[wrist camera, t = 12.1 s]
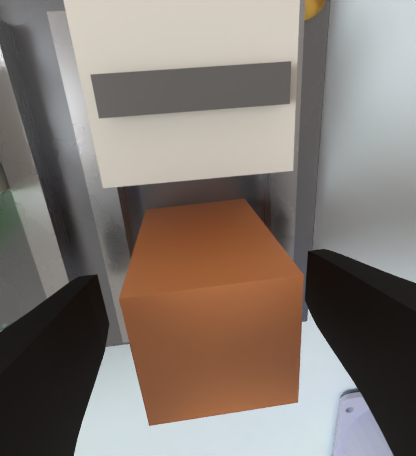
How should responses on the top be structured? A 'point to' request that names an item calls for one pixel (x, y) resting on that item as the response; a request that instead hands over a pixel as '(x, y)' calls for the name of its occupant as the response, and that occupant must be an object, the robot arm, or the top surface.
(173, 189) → the breaker panel
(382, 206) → the top surface
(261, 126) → the toggle
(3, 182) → the toggle
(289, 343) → the orange block
